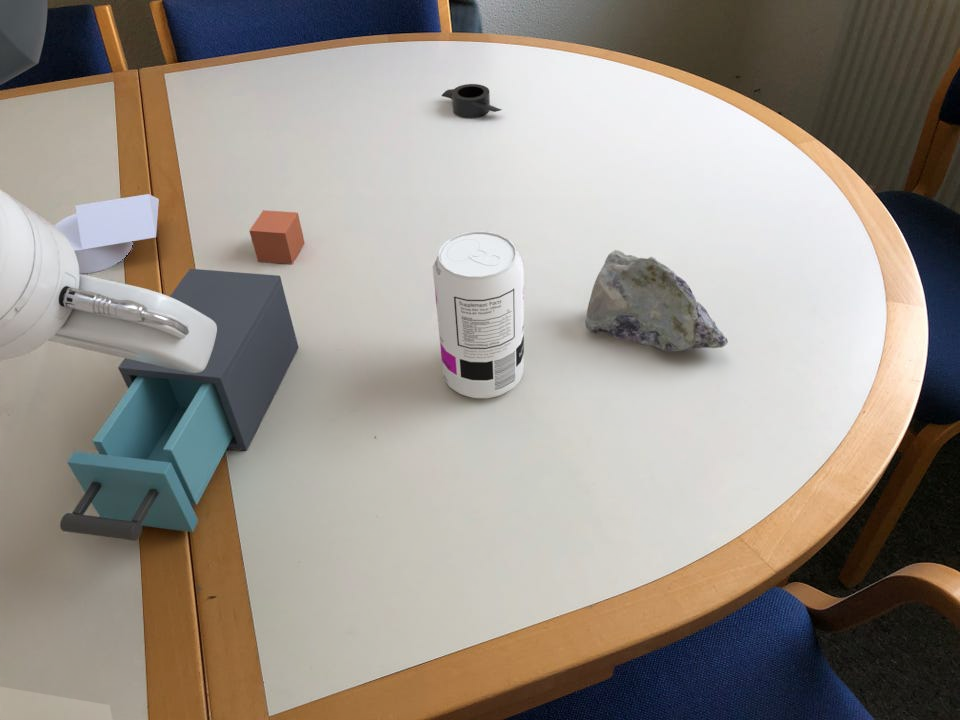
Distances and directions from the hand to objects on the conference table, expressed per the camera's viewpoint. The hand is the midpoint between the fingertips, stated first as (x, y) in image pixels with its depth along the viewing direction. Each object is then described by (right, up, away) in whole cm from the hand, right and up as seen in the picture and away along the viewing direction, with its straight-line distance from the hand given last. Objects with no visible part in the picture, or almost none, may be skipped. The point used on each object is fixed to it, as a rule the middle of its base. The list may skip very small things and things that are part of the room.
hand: (106, 335), depth 57 cm
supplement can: (+27, -3, +24) cm, 36 cm away
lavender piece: (-19, +12, +43) cm, 48 cm away
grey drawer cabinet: (+2, -5, +23) cm, 24 cm away
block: (+2, +12, +41) cm, 42 cm away
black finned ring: (+26, +37, +67) cm, 81 cm away
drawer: (-1, -13, +13) cm, 19 cm away
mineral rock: (+45, 0, +27) cm, 52 cm away
